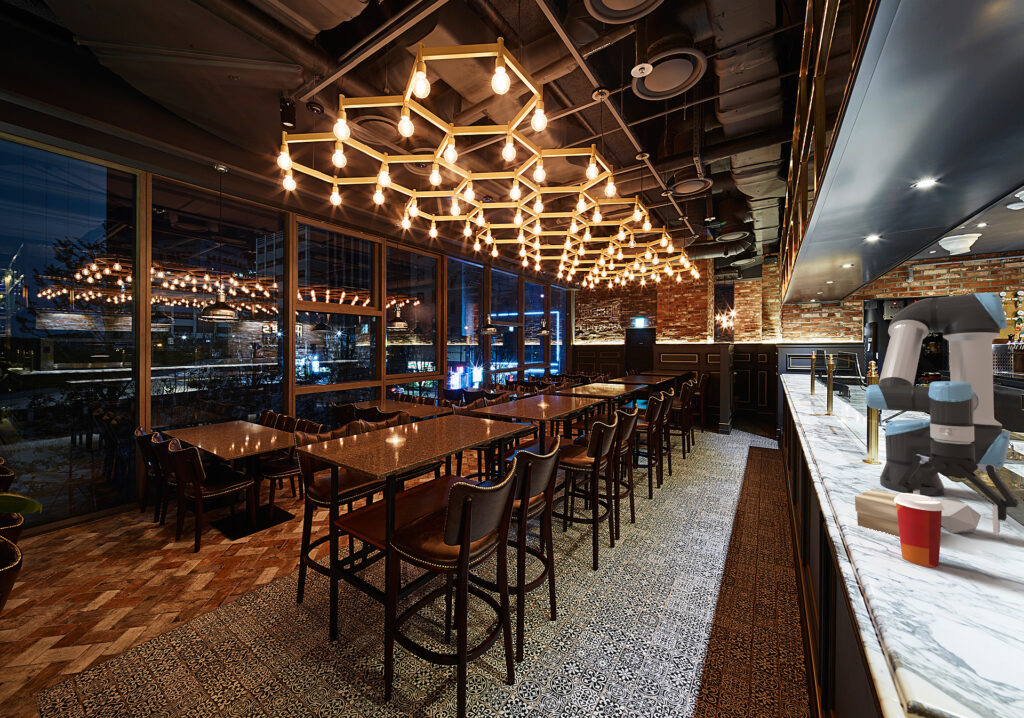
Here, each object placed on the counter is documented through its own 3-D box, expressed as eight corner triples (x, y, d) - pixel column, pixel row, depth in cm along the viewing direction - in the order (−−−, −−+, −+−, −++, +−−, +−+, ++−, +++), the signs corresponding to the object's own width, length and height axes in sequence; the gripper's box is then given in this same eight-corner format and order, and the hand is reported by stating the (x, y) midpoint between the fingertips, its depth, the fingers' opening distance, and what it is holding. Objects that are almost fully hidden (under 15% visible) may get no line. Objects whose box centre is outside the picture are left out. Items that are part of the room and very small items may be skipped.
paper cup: (930, 554, 87) (928, 493, 87) (956, 572, 80) (953, 506, 80) (886, 550, 90) (885, 490, 90) (908, 567, 83) (906, 502, 83)
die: (988, 543, 93) (992, 507, 96) (951, 524, 95) (956, 489, 98) (952, 540, 101) (957, 507, 104) (918, 523, 102) (923, 490, 105)
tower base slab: (872, 517, 109) (871, 503, 109) (928, 531, 100) (927, 516, 100) (857, 526, 103) (857, 512, 103) (915, 542, 94) (915, 526, 94)
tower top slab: (872, 503, 109) (872, 489, 109) (927, 516, 99) (927, 500, 99) (855, 511, 104) (854, 496, 104) (911, 525, 94) (911, 509, 94)
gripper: (882, 435, 108) (884, 510, 108) (1030, 451, 87) (1034, 545, 86) (890, 432, 112) (893, 504, 112) (1034, 447, 91) (1037, 536, 90)
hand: (954, 522), depth 99 cm, fingers open, 13 cm apart
